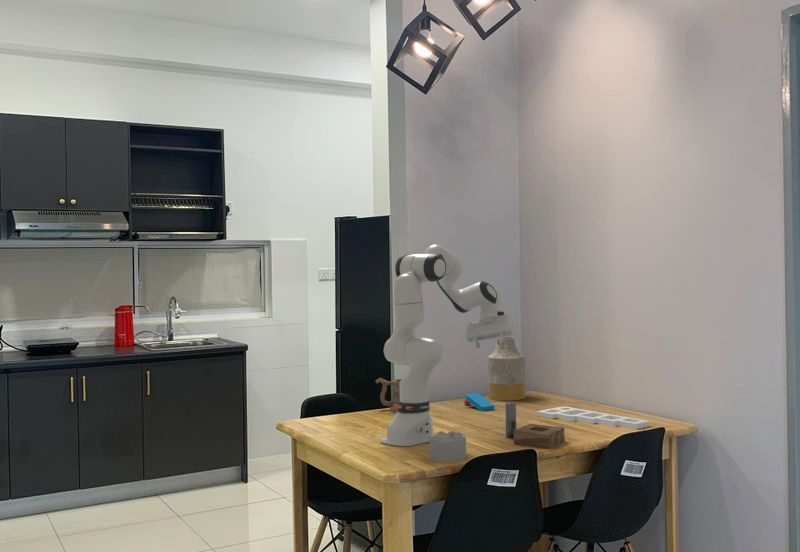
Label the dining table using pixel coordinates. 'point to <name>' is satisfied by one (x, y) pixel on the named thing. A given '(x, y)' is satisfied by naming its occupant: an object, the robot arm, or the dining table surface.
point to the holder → (592, 417)
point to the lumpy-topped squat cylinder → (448, 447)
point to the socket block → (539, 435)
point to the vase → (506, 372)
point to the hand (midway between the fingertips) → (488, 345)
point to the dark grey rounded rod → (510, 419)
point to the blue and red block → (478, 402)
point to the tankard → (394, 388)
